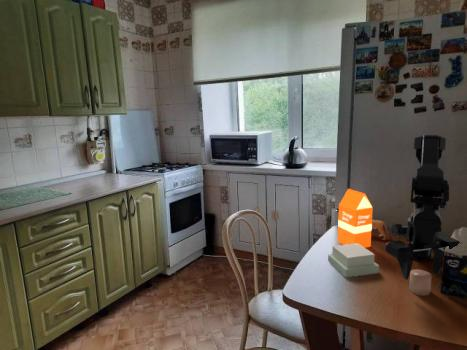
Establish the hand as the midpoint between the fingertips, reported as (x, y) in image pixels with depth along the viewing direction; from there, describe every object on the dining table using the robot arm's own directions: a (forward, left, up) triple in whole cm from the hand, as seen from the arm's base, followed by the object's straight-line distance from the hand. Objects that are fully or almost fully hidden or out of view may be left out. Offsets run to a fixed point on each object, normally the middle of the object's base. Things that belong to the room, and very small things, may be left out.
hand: (420, 276), depth 91 cm
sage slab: (+10, -17, -5) cm, 20 cm away
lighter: (-23, -30, -4) cm, 38 cm away
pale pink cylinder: (0, 0, -4) cm, 4 cm away
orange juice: (0, -33, -4) cm, 33 cm away
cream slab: (+10, -17, -2) cm, 20 cm away
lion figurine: (-10, -38, -4) cm, 40 cm away
